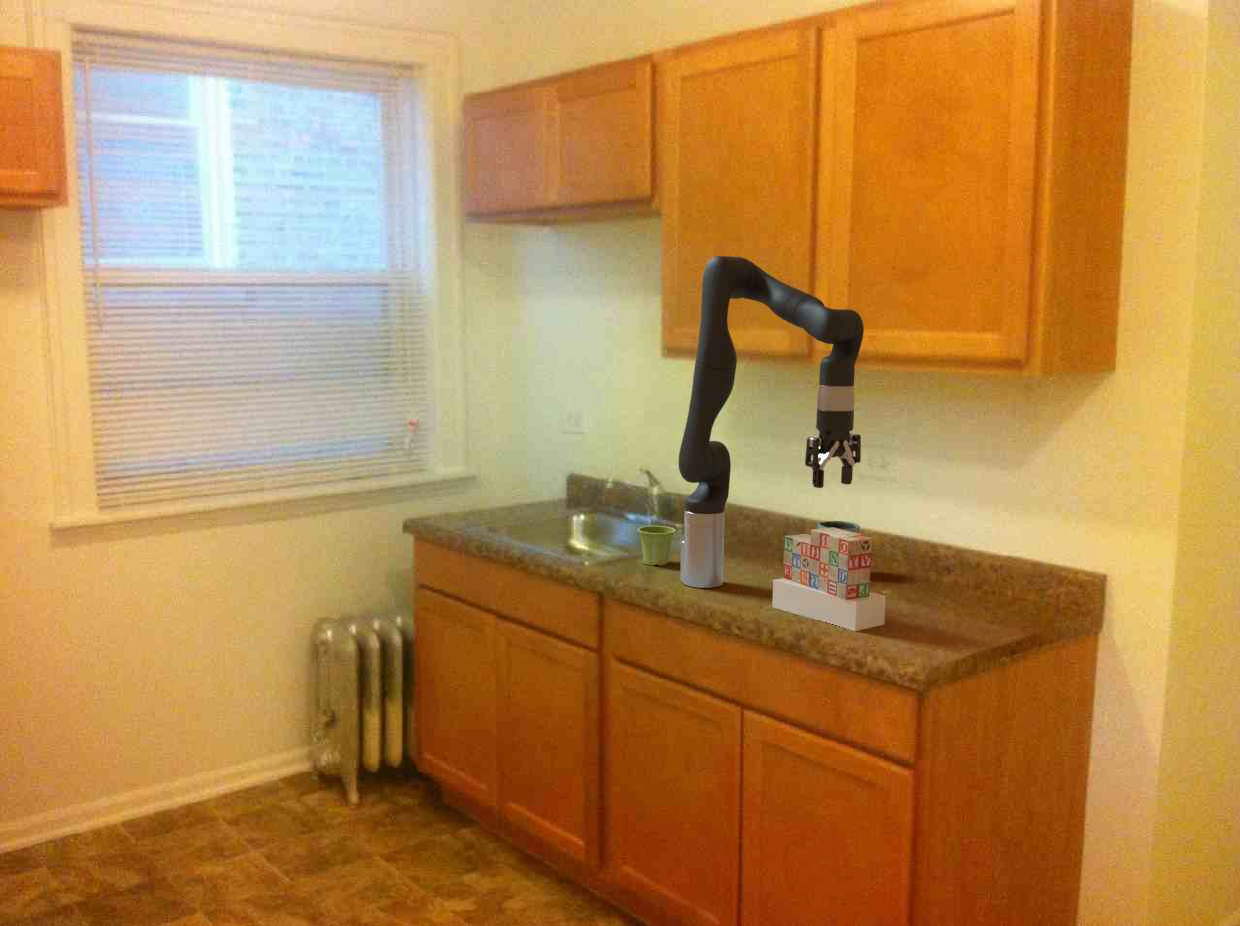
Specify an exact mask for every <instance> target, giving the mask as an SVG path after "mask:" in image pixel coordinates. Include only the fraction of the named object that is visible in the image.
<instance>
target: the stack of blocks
mask: <svg viewBox="0 0 1240 926" xmlns="http://www.w3.org/2000/svg"><path fill="white" fill-rule="evenodd" d="M872 550H873V538H872V537H869V536H866V535H863V534H861V533H859V534H858V533H854V532H849V531H845V530H841V529H837V528H834V527H832V528H823V529H818V528H816V529H815V528H813V529H811V530H810V534H809V533H802V534H791V535H785V536H783V569H782V570H783V573H782V574H783V575H782V578H787V579H790V580H793V581H795V582H798V583H801V584H804V585H806V586H810V587H812V588H815V589H818V590H821V591H823V592H826V593H829V594H831V595H834V596H837V597H839V598H842V599H845V600H849V599H856V598H863V597H869V592H871V589H870V588H871V572H872V571H871V570H872V569H871V568H872V556H873V554H872Z"/></svg>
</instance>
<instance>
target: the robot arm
mask: <svg viewBox="0 0 1240 926" xmlns="http://www.w3.org/2000/svg"><path fill="white" fill-rule="evenodd" d="M701 284H702V285H701V305H700V306H701V309H700V311H701V312H700V323H699V331H698V332H699V333H698V342H697V349H696V357H695V362H694V369H693V377H692V387H691V395H690V400H689V407H688V412H687V418H686V423H685V428H684V432H683V436H682V439H681V443H680V444H681V445H680V449H679V452H678V470H679V473H680V475H681V478H682V479H683V480H684V481H686V482H687V483H690V484H696V483H697V484H698V485H697V487H696V489H695V490H694V491H693V492H692V493H691V494H689V495H688V496H687V497H686V498H685V499H684V519H683V521H684V526H683V527H684V528H683V529H684V531H683V540H682V541H681V543H680V569H679V570H680V573H679V575H680V579H679V580H680V581H679V582H682V583H683V585H685V586H688V587H693V588H700V589H701V588H703V589H704V588H705V589H706V588H707V589H708V588H717V587H721V586H722V585H723V583H724V551H725V549H724V545H725V511H726V510H725V509H726V503H727V501H728V499H729V493H730V479H731V466H732V465H731V464H732V463H731V457H730V455H731V454H730V452H729V450H728V448H727V446H726V445H725V444H724V443H723V442H721V441H718V440H711V436H712V430H713V426H714V423H715V421H716V419H717V418H718V416H719V414H720V412H721V411H722V409H723V408H724V406H725V405H726V403H727V401H728V399H729V397H730V395H731V394H732V392H733V389H734V385H735V384H734V383H735V380H736V379H735V377H736V371H737V364H738V363H737V361H738V360H737V359H738V358H737V352H736V348H735V345H734V342H733V339H732V337H731V334H730V330H729V325H728V322H729V321H728V315H729V307H730V301H731V299H733V300H735V299H736V300H738V299H744V300H745V299H747V300H750V301H755V302H758V303H761V304H764V305H765V306H766V307H768V308H769V310H770V311H772V312H773V314H775V316H777V317H778V318H780V319H782V321H785V322H787V323H790V324H791V325H793V326H796V327H798V328H800V329H803V331H805V332H806V333H807V334H808V335H810V337H812V338H813V339H816V341H818V342H821V343H823V344H826V345H832V349H831V352H830V354H828V356H825V357H823V358H821V360H820V364H819V375H818V377H819V378H818V381H819V382H818V391H817V396H816V397H817V399H816V401H817V402H816V421H815V422H816V424H815V425H816V426H815V427H816V430H818V433H819V434H818V436H817V437H814V436H813V437H812V436H807V439H806V449H805V459H804V465H805V466H806V467H809V468H811V470H812V480H811V481H812V485H813V488H817V489H822V488H824V482H825V481H824V479H825V470H824V468H825V466H826V465H827V462H829V461H830V460H831V459H832V458H838V459H839V460H840V462H841V464H842V465H841V473H840V474H841V475H840V476H841V477H840V483H841V484H843V485H851V484H852V481H853V471H854V469H853V468H854V466H856V464H857V463H858V464H859V463H861V461H862V460H861V459H862V457H861V453H862V449H861V448H862V447H861V445H862V444H861V443H862V440H861V439H862V436H861V434H858V433H851V432H853V430H854V422H855V419H854V418H855V398H856V397H855V370H856V369H855V366H856V363H857V360H858V357H859V354H860V349H861V346H862V342H863V339H864V334H865V333H864V332H865V331H864V330H865V329H864V321H863V319H862V317H861V314H860V313H858V312H857V311H856V310H853V309H843V308H841V309H837V308H836V309H834V308H830V307H827V306H825V304H824V302H823V301H822V300H821V299H819V298H818V297H816V296H814V295H813V294H812V295H811V294H810V293H807V292H805V291H803V290H800V289H798V288H796V287H793V286H792V285H788V284H786V283H785V282H782V281H781V280H779V279H777V278H775V277H774V276H772V275H770V274H769V273H767V272H766V271H765V270H763V269H762V268H761V267H760V266H758V265H757V264H755V263H754V262H752V261H751V260H749V259H747V258H745V257H742V256H733V255H732V256H731V255H730V256H729V255H728V256H727V255H716V256H713V257H712V258H710V259H709V261H707V264H706V265H705V267H704V271H703V275H702V283H701ZM854 453H855V454H854Z"/></svg>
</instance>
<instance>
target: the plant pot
mask: <svg viewBox="0 0 1240 926" xmlns="http://www.w3.org/2000/svg"><path fill="white" fill-rule="evenodd" d="M637 532H638V533H639V537H640V543H641V544H640V545H641V552H642V561H643V564H645V565H647V566H655V565H658V566H661V567H663V566H666V565H667V564H668V563H669V559H670V558H669V557H670V551H671V546H672V540H673V538H674V534H675V532H676V529H675V528H673V527H670V526H665V525H664V526H663V525H647V526H641V527H638V528H637Z"/></svg>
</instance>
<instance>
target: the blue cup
mask: <svg viewBox="0 0 1240 926" xmlns="http://www.w3.org/2000/svg"><path fill="white" fill-rule="evenodd" d="M832 527H834V528H837V529H841V530H845V531H849V532H854V533H858V534H860V528H861V526H860V525H859V524H858V523H855V522H849V521H843V520H824V521H820V522H818V523H817V529H823V528H832Z"/></svg>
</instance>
